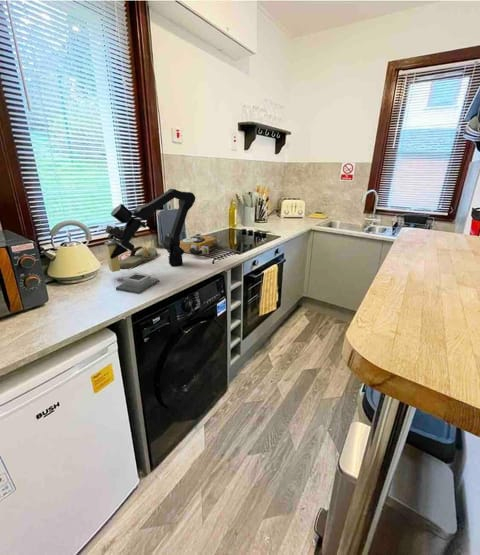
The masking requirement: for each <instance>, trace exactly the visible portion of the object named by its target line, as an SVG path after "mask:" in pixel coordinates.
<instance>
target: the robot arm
mask: <svg viewBox="0 0 480 555" xmlns="http://www.w3.org/2000/svg"><path fill="white" fill-rule="evenodd" d="M174 199H176V200H178V209H177V212H176V216H175V220H174V222H173V225H172V228H171V231H170V233H169V234H168V235H165V236H164V240H163V242H162V243H163V248H164V250H166V251H167V253H168V255H169V256H167V257H168V264H169V265H170V267H179V266H184V263H183V262H184V261H183V255H184V254H185V252H184V250H183V249H182V248H180V241H181V238H180V237H181V233H182V230H183V227H184V225H185V221H186V218H187V215H188V213H189V210H190V209H191V208H192V207H193V205H194V203H195V202H196V196H195V194H194V193H193V192H191V191H182V190H177V189H176V188H169V189H168V190H167V191H165V192H164V193H163V194H161V195H158V196H157V197H156V198H154V199H153V200H151V201H150V202H147V203H142V205H139V206H137V207H135V208H134V209H131V210H129V209H128V208H127V207H126V206H125V205H124V204H123V203H119V204H118V205H117V206H115V208H113V209H112V211H111V213H110V215H111V217H113V218H114V219H116V220H117V221H118V222H120V223H121V224H124V225H123V226H121V227H119V226H117V225H114V226H111V225H106V228H105V233H107V234H108V235H107V237H108V238H109V240H108V241H113V242H115V244H116V248H115V249H114V251H113V253H112V255H111V257H110V258H112V259H113V258H115V257H117V256H118V257H119V256H120V255H122V254H124V253H127V252H129V251H130V252H131V251H133V250H134V248H135V245H134V244H133V243H131V240H132V239H133V238H136V233H138V231H139V229H140V228H141V227H142V228H144V229H147V226H146V222H145V221H148V220H150V218H151V217H152V216H154V214H155V213H156V211H157V210H159V209H160V208H161V207H163V206H165V205H166V204H167V203H169V202H170V201H172V200H174ZM135 217H136V218H135ZM142 220H143V221H142Z"/></svg>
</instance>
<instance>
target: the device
mask: <svg viewBox="0 0 480 555" xmlns="http://www.w3.org/2000/svg"><path fill="white" fill-rule="evenodd" d="M221 244H222V241H221V240H220V239H217V238H215V237H213V236H210V235H209V236H208V235H203V234H201V233H197V234H194V235H192V236H189V237H186V238H184V239H183V238H182V240H181V239H180V248H182V249H183V250H184V253H186V254H187V253H188V254H194V255H199V256H202V255H203V256H204V255H209V253H210V252H209V251H212V250H213V249H215V248H217V247H218V246H221Z"/></svg>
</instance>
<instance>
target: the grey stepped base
mask: <svg viewBox="0 0 480 555" xmlns="http://www.w3.org/2000/svg"><path fill="white" fill-rule="evenodd" d="M158 283H160V279H156V278H152V277H151V275H149V274H143V273H133V274H130V275H128V276H127V277H124V278H123V283H122V284H120V285H118V286H116V287H115V290H117V291H121V292H127V293H133V294H138V295H139V294H142V293H143V292H145V291H147V290H148V289H150V288H151V287H153V286H155V285H156V284H158Z"/></svg>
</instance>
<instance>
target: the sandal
mask: <svg viewBox="0 0 480 555" xmlns="http://www.w3.org/2000/svg"><path fill="white" fill-rule="evenodd" d="M141 249H142V250H141ZM139 250H140V251H139ZM137 251H139V252H138V253H137ZM157 256H158V250H157V249H156V248H155V247H150V246H149V247H146V246H145V247H144V246H142V245H141V246H136V247H134V250H133V251H130V254H129V256H126V257H125V258H124V259H119V264H120V269H121V268H122V269H132V268H134V267H137V266H139V265H141V264H143V263H146V262H149V261H152V260H154V259H155V258H156V257H157Z"/></svg>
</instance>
